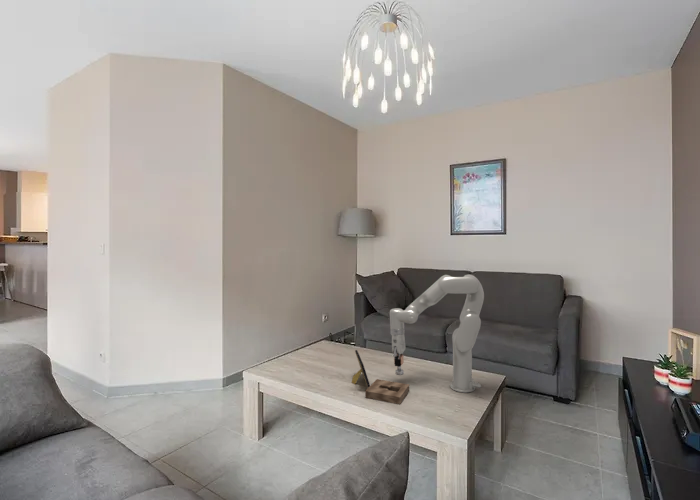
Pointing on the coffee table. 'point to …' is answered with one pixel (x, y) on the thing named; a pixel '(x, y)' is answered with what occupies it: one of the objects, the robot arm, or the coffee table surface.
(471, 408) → the coffee table surface
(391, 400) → the keyhole board
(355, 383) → the picture frame
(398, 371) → the peg
